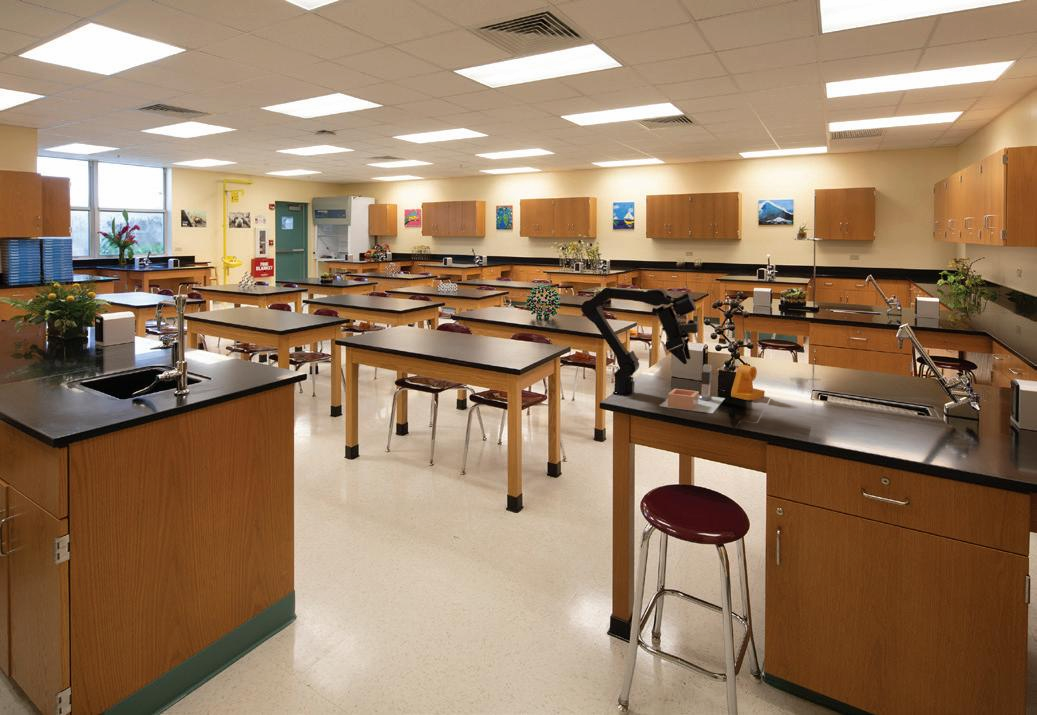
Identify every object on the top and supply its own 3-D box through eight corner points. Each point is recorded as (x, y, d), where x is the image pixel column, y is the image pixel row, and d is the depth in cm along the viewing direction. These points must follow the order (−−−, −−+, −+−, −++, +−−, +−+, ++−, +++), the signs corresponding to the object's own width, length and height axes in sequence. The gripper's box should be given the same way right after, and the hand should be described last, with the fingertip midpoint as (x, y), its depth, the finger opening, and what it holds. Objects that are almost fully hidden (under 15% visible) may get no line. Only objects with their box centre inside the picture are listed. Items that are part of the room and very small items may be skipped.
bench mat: (658, 406, 204) (658, 405, 204) (675, 393, 223) (675, 392, 223) (712, 414, 196) (712, 413, 196) (725, 399, 215) (725, 398, 215)
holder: (667, 406, 204) (668, 393, 203) (673, 400, 211) (674, 388, 210) (692, 409, 200) (693, 396, 199) (698, 403, 207) (699, 391, 206)
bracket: (748, 402, 210) (751, 369, 208) (730, 398, 216) (733, 366, 214) (765, 398, 217) (767, 366, 214) (747, 394, 222) (749, 362, 220)
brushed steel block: (697, 399, 212) (699, 365, 210) (700, 397, 216) (702, 363, 214) (710, 401, 210) (712, 367, 208) (712, 398, 214) (715, 364, 212)
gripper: (687, 315, 199) (706, 357, 199) (693, 309, 216) (711, 348, 216) (656, 328, 204) (675, 369, 204) (665, 322, 221) (683, 359, 221)
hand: (687, 361), depth 211 cm, fingers open, 9 cm apart
